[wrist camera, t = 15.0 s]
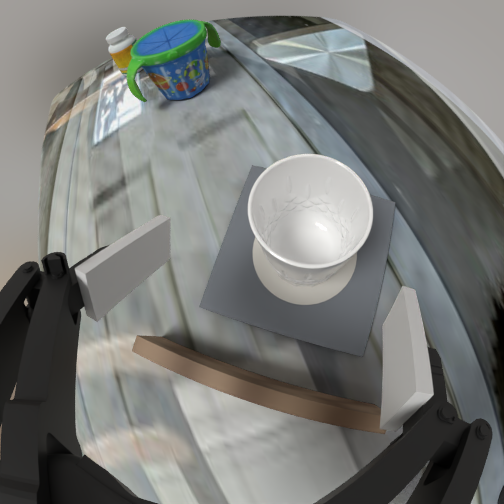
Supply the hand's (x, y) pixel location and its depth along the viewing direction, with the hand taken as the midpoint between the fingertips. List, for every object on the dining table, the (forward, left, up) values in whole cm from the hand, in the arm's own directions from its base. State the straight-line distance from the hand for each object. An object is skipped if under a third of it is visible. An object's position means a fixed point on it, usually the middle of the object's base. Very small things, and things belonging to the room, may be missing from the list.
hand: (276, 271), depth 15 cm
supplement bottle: (+37, -32, -12) cm, 51 cm away
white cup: (-1, -5, -12) cm, 13 cm away
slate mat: (-1, -5, -12) cm, 13 cm away
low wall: (-1, +8, -12) cm, 15 cm away
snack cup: (+22, -26, -12) cm, 36 cm away
